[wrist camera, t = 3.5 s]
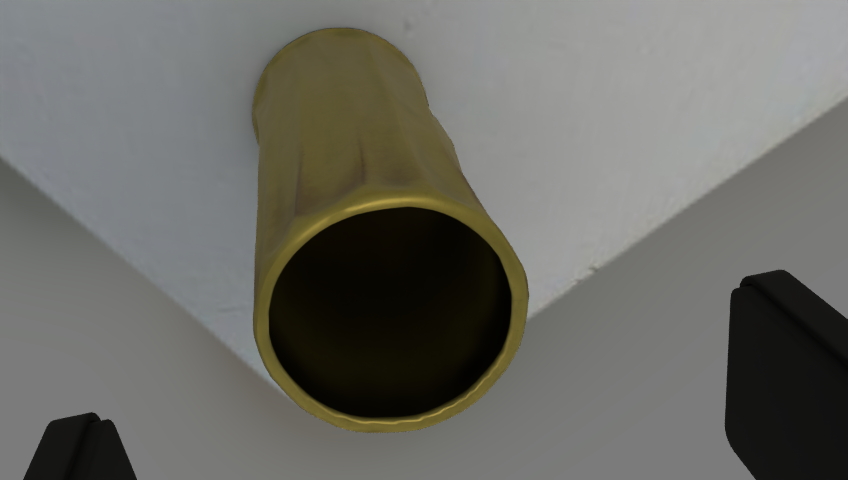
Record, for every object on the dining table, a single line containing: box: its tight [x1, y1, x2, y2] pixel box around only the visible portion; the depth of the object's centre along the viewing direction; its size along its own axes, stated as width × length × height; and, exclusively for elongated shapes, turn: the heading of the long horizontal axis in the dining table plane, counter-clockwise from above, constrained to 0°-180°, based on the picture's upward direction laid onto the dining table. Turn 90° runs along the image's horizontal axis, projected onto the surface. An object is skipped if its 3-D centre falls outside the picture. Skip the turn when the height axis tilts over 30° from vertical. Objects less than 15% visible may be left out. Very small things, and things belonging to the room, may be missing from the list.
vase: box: [252, 28, 529, 433], centre depth 21 cm, size 6×6×14 cm
